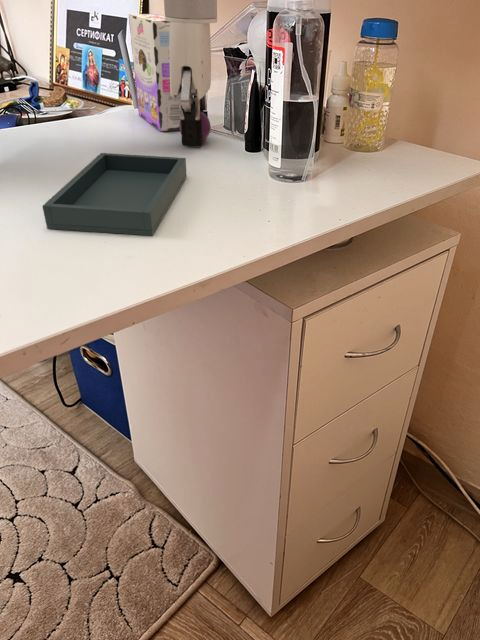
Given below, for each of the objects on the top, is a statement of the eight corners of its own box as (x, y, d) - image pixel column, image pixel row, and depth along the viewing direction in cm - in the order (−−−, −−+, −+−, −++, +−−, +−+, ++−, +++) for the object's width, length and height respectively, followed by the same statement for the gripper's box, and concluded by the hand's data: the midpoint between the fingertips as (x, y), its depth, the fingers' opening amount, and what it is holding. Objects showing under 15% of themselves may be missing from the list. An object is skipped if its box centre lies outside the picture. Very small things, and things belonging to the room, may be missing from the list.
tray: (47, 228, 58) (42, 205, 56) (103, 172, 74) (100, 152, 72) (152, 235, 57) (150, 212, 56) (186, 177, 73) (185, 157, 72)
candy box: (192, 130, 93) (188, 20, 84) (160, 132, 91) (152, 20, 81) (166, 112, 103) (160, 12, 93) (136, 114, 101) (127, 12, 91)
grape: (177, 146, 85) (175, 112, 82) (183, 137, 89) (181, 105, 86) (208, 147, 85) (207, 114, 82) (212, 139, 89) (212, 107, 86)
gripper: (176, 4, 83) (182, 127, 94) (150, 12, 69) (161, 154, 80) (224, 6, 83) (225, 129, 94) (207, 15, 69) (210, 157, 80)
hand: (195, 139), depth 87 cm, fingers closed on grape, 4 cm apart
